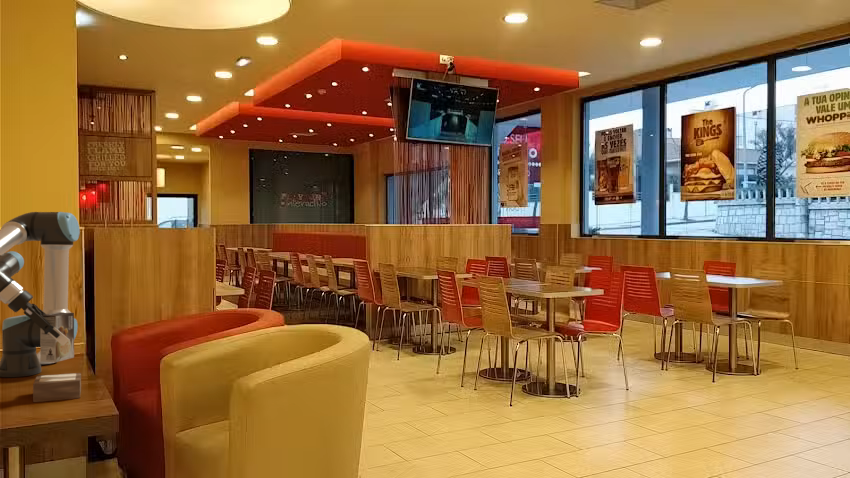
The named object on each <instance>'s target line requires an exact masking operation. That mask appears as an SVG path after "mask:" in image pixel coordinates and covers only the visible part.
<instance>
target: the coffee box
mask: <svg viewBox="0 0 850 478" xmlns="http://www.w3.org/2000/svg"><path fill="white" fill-rule="evenodd" d="M42 316H43V317H44V318H45V319H46V320H47V321H48V322H49V323H50V324H51V325H52V326H53V327H55V328H56V329H57V330H59V331H60V332H61V333H62V334H63V335H65V336H66V337H67V338H68V339H69V341H68V342H67V343H66V344H65V345H64V346H63V345H61V344H60V343H59V342H58V341H57V340H55V339H54V338H53V337H52V336H51V335H49V334H48V333H47V334H44V330H42V329H41V328H40V347H39V348H40V350H39V352H40V351H41V352H40V353H41V354H40V355H41V356H40V357H41V358H40V359H41V362H55V363H59V362H62V361H66V360H70V359H74V358H75V339H74V318H75V313H74V312H71V313H64V312H58V313H52V314H45V315H42Z"/></svg>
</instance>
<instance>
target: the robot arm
mask: <svg viewBox="0 0 850 478" xmlns="http://www.w3.org/2000/svg"><path fill="white" fill-rule="evenodd" d="M80 232H81V231H80V225H79V222H78V219H77V218H76V216H75V215H74V214H73V213H71V212H66V211H65V212H64V211H31V212H26V213H23V214H21V215H18V216H16V217H14V218H12V219H10V220H8V221H6V222H5V223H4V224H2V226H1V228H0V302H2V303H3V304H5V305H6V304H7V307H8V308H9V309H10V310H11V311H12V312H14V313H17V312H19V311H20V310H21V309H22V310H23V314H22V315H17V316H11V317H7V318H5V319H3V321H2V329H1V331H2V332H1V333H2V335H1V338H2V343H1V345H2V346H1V347H2V348H1V349H2V354H1V355H2V357H1V358H0V378H22V377H28V376H34V375H38V374H40V373H42V364H40V362H39V359H38V357H37V348H40V328H41V329H42V330H44V334H47V333H48V334H49V335H51V336H52V337H53V338H54V339H55V340H57V341H58V342H59V343H60V344H61V345H63V346H64V345H65V344H66V343H67V342H68V341H69V339H68V338H67V337H66V336H65V335H63V334H62V333H61V332H60V331H59V330H57V329H56V328H55V327H53V326H52V325H51V324H50V323H49V322H48V321H47V320H46V319H45V318H44V317H43V316H42V315H45V314H52V313H58V312H64V313H72V312H71V311H70V310H69V307H68V306H69V272H70V271H69V266H70V265H69V263H70V261H69V260H70V257H69V256H70V249H71V248H72V247H73V246H74V242H77V241H78V239H80V238H79V237H80V235H81V234H80ZM33 241H34V242H35V241H36V242H40V246H41V248H42V249H44V269H43V270H44V272H43V273H44V274H43V275H44V277H43V308H42V309H43V310H42V309H41V308H39V307H38V306H37V304H35V303H31V302H30V301H32V299H33V298H34V296H33V295H32V294H31V293H30V292H29V291H28V290H26V289H25V290H24V287H23V286H22V285H21V284H20V283H18V282H17V281H16V280H15V279H13V278H12V277H13V276H14V275H15V274H17V273H19V271H21V270H22V268H23V267H24V264H25V259H24V257H23V256H22V255H21V254H20V253H18V251H12V250H10V249H12V248H13V247H14V246H16V245H18V246H19V245H21V244H23V243H25V242H33ZM78 325H79V324H78V320H77V319H76V318H75V317H74V340H75V339H76V336H77V334H78V329H79V328H78Z"/></svg>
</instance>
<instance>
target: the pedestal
mask: <svg viewBox="0 0 850 478" xmlns="http://www.w3.org/2000/svg"><path fill="white" fill-rule="evenodd" d="M81 392H82V372H75V373H61V374H60V373H59V374H46V375H37V376H36V377H35V379H34V381H33V384H32V402H33V403H40V402H41V403H42V402H52V401H62V400H63V401H65V400H71V399H72V400H75V399H76V400H77V399H81Z"/></svg>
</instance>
